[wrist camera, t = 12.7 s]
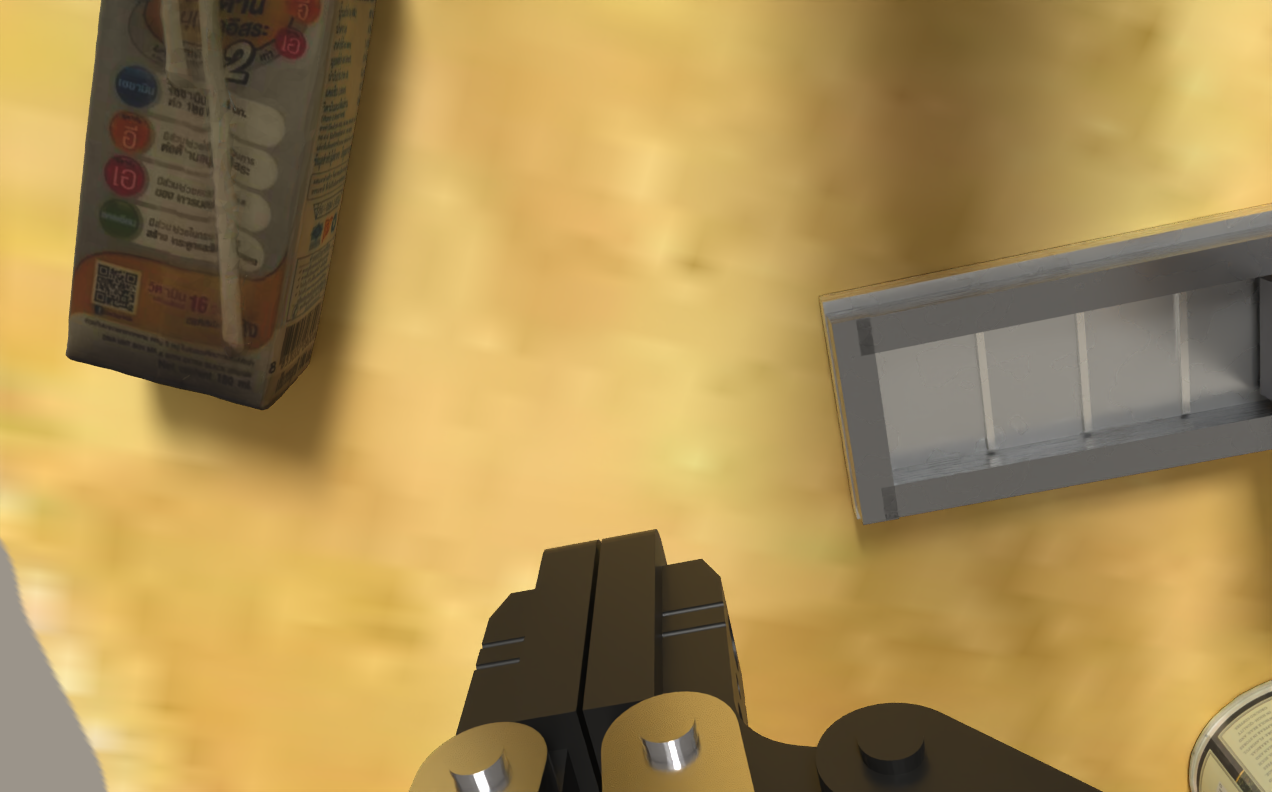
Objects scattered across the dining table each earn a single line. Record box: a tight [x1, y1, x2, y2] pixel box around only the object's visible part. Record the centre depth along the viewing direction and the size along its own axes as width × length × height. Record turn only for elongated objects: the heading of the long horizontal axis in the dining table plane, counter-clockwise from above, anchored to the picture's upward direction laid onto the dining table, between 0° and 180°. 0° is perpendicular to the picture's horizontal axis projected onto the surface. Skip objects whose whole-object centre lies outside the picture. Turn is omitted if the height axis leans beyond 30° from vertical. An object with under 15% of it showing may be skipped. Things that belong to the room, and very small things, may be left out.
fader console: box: [819, 203, 1272, 525], centre depth 41 cm, size 24×10×2 cm, turn 102°
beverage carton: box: [66, 0, 376, 410], centre depth 37 cm, size 8×19×7 cm, turn 164°
